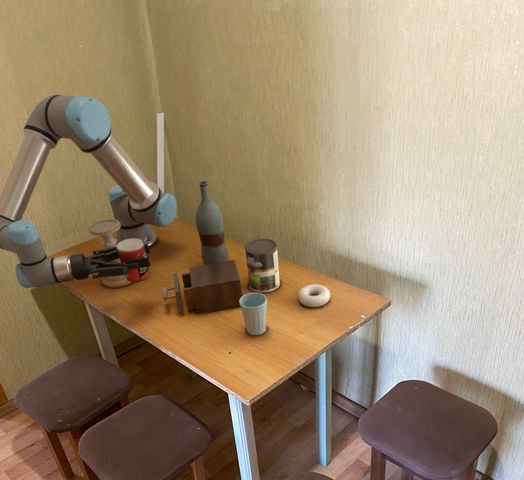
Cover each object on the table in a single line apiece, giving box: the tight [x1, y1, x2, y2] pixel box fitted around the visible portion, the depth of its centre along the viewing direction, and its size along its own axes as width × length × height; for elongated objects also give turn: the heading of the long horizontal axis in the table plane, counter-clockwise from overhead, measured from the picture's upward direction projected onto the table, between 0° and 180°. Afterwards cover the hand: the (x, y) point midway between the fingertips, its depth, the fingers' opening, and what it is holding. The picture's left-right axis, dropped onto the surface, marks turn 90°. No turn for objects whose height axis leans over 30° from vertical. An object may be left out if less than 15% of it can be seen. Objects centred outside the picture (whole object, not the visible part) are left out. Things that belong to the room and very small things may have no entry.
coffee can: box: [244, 238, 281, 294], centre depth 169 cm, size 10×10×14 cm
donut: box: [297, 283, 331, 308], centre depth 163 cm, size 10×4×10 cm
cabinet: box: [188, 259, 243, 315], centre depth 166 cm, size 15×13×10 cm
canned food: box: [116, 238, 151, 283], centre depth 159 cm, size 8×8×11 cm
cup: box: [239, 292, 268, 336], centre depth 151 cm, size 8×8×10 cm
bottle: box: [194, 180, 229, 265], centre depth 177 cm, size 9×9×30 cm
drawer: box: [162, 272, 196, 314], centre depth 165 cm, size 18×11×8 cm, turn 100°
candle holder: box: [88, 218, 133, 289], centre depth 178 cm, size 12×12×20 cm
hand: (149, 255), depth 159 cm, fingers closed on canned food, 8 cm apart
